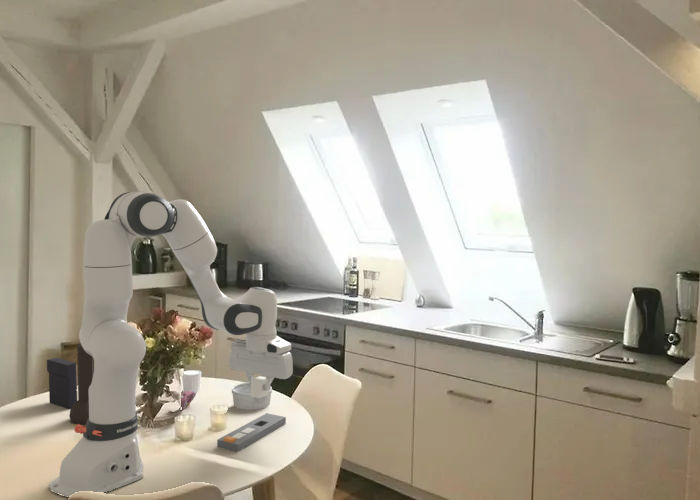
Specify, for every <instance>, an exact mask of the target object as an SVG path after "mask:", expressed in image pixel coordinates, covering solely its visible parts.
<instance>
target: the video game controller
mask: <svg viewBox="0 0 700 500" xmlns="http://www.w3.org/2000/svg"><path fill="white" fill-rule="evenodd" d="M196 395H197V393H195V392H193V391H190V390H189V391H186V392H184V391H183V392H182V394H181V395H180V396H181V407H182V409H183V410H182V411H184V410H185V408H188V407H189V406H190V404H191V403H192V401H193V400H194V399H195V398H196Z"/></svg>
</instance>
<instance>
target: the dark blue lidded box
mask: <svg viewBox="0 0 700 500" xmlns="http://www.w3.org/2000/svg"><path fill="white" fill-rule="evenodd" d="M46 371H47V373H48V388H49V389H48V391H49V393H48V395H49V403H50V404H51V405H55V406H57V407H61V408H63V409H67V410H70V409H71V408H72V406H73V405H74V403H75V402H77V401H78V372H77V362H74V361H71V360H67V359H64V358H61V357H60V358H59V357H54V358H50V359H46Z"/></svg>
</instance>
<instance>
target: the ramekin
mask: <svg viewBox="0 0 700 500" xmlns="http://www.w3.org/2000/svg"><path fill="white" fill-rule="evenodd" d="M272 392H273V388H272V386H271V385H270V390H269V391H268V395H266V396H265V402H263V403H261V404H256V403H253V401H254V397H251V388H250V382H249V381H248V382H241V383H238V384H236V385H234V386H232V388H231V395H232V401H233V402H232V403H233V406H234V407H235V408H237V409H240V410H246V411H251V410H252V411H253V410H260V409H265V408H266V407H268V406H269V405H270V403H271V396H272Z"/></svg>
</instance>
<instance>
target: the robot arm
mask: <svg viewBox="0 0 700 500" xmlns="http://www.w3.org/2000/svg"><path fill="white" fill-rule="evenodd" d="M159 235H162V236H163V237H164V238H165V240H166V242H167V244H168V245H169V247H170V249H171V250H172V253H173V254H174V256H175V257H176V259H177V260H178V262H179V264H180V265H181V266H182V268H183V269H184V271H185V273H186V275H187V277H188V279H189V281H190V283H191V285H192V287H193V289H194V291H195V293H196V296H197V297H198V300H199V302H200V306H201V314H202V318H203V321H204V323H205V325H207V326H208V327H209V328H210V329H214V330H217V331H221V332H224V333H227V334H229V335H230V336H231V335H232V336H243V335H245V339H241V338H236V339H234V340H232V341H231V347H230V348H231V349H230V350H231V351H230V356H229V357H230V358H229V368H230V370H232V371H237V372H241V373H242V372H243V373H246V375H245V376H246V379H247V381H248V382H250V388H251V379H254V378H255V377H254V376H255V375H259V376H262V377H266V380H267V382H266V383H265V384H263V390H265V391H269V390H270V386H271V384H272V383H273V380H275V378H276V379H280V380H286V379H289V378H291V377H292V375H293V371H294V368H293V367H294V366H293V363H294V362H293V356H292V355H293V354H292V353H291V352H290V351H291V350H292V343H291V342H289V341H287V340H285V339H283V338H282V337H280V336H279V335H277V334H278V333H277V327H276V325H277V324H276V323H277V318H278V300H277V294H276V292H275V291H273V290H272V289H269V288H264V287H259V286H252V287H250V288H249V289H248V290H247V291H246V292H245V293H244V294H241V295H240V296H238V297H236V298H231V297H229V296H227V295H226V294H224V293H223V292H222V291H221V290H220V288H219V285H218V283H217V281H216V279H215V277H214V275H213V273H212V271H211V265H212V264H213V262H214V261H215V260H216V257H217V254H218V247H217V245H216V244H217V243H216V241H215V239H214V236H213V234H212V233H211V231H210V229H209V227H208V225H207V223H206V222H205V220H204V219H203V217H202V216H201V214H200V213H199V212H198V210H197V208H195V206H193V204H192V203H191V202H189V201H188V200H187V199H174V200H171V201H168V200H166V199H165V198H164V197H161V196H160V195H158V194H155V193H150V192H149V193H148V192H146V191H145V192H144V191H128V192H124V193H121V194H119V195H118V196H117V197H115V198H114V200H113V202H112V203H111V204H110V207H109V209H108V211H107V213H106V215H105V216H104V219H100V220H97V221H94V222H93V223H91V224H90V225H89V226H88V227H87V229H86V232H85V239H84V246H83V247H84V248H83V272H84V273H83V274H84V305H83V313H82V319H81V326H80V329H79V331H78V332H79V333H78V334H79V335H78V338H79V341H80V342H79V343H81V345H82V347H83V349H84V350H85V352H86V353H88V354H89V355H90V356H92V357H93V358H94V374H93V379H92V383H91V385H90V386H89V390H88V392H89V418H88V420H87V423H86V425H80V424H78V425H74V426H75V427H74V429H73V430H74V432H75V433H76V434H82V437H81V438H80V439H79V441H77V443H76V444H75V445H74V447H73V448H72V449H71V450H70V451H69V452H68V453H67V455H66V456H65V457H64V458H63V459H62V461H61V464H60V466H59V476H58V477H56V478H55V479H53V480H51V481H50V482H49V483H48V488H49V487H50V489H51V490H53V491H54V492H56V493H59V494H62V495H64V496H68V497H69V496H70V495H72V494H74V493H75V492H79V491H93V492H106V491H109V492H111V491H113V489H114V490H116V489H118V488H122V487H123V486H126V485H128V484H131V483H133V482H137V481H139V480H141V479H143V477H144V474H143V470H144V464H143V461H142V458H141V455H140V454H141V453H140V448H139V443H138V442H139V441H138V436H137V430H138V428H139V426H138V425H139V420H138V413H137V412H136V407H137V406H136V401H137V398H136V396H137V395H136V392H137V391H136V388H137V387H136V386H137V380H138V378H137V377H138V374H139V368H140V364H141V363H142V361H143V360H144V358H145V355H146V351H147V344H146V341H145V339H144V337H143V335H142V334H141V333H140V331H139V330H138V329H136V327H134V326H133V325H130V324H128V320H127V319H128V311H129V305H130V301H131V299H132V298H133V294H134V287H133V263H132V262H133V261H132V253H131V251H132V247H133V243H134V241H135V239H136V238H137V237H146V238H147V237H148V238H149V237H150V238H151V237H157V236H159ZM115 488H116V489H115ZM50 489H49V490H50ZM51 490H50V491H51ZM106 493H107V492H106Z"/></svg>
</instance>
